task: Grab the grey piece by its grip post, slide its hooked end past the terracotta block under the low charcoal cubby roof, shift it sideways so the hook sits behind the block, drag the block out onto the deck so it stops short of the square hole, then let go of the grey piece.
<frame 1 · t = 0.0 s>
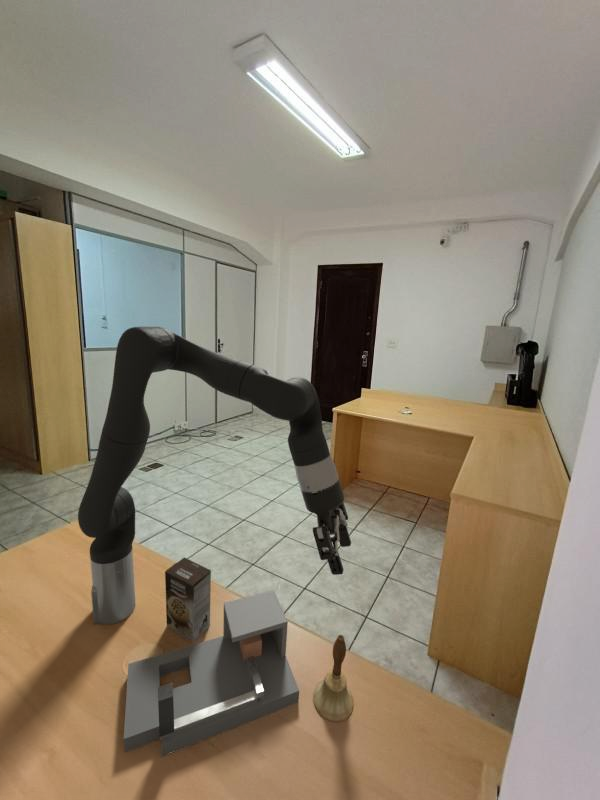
hand: (342, 558, 68), 31 cm above the table, tool tilted 20°, fingers open, 8 cm apart
grey piece: (166, 732, 62), point 3 cm above the table, touching cubby
cubby: (211, 688, 73), on the table
block: (250, 649, 79), point 3 cm above the table, touching cubby
coffee box: (188, 626, 87), on the table
hand bell: (333, 700, 72), on the table
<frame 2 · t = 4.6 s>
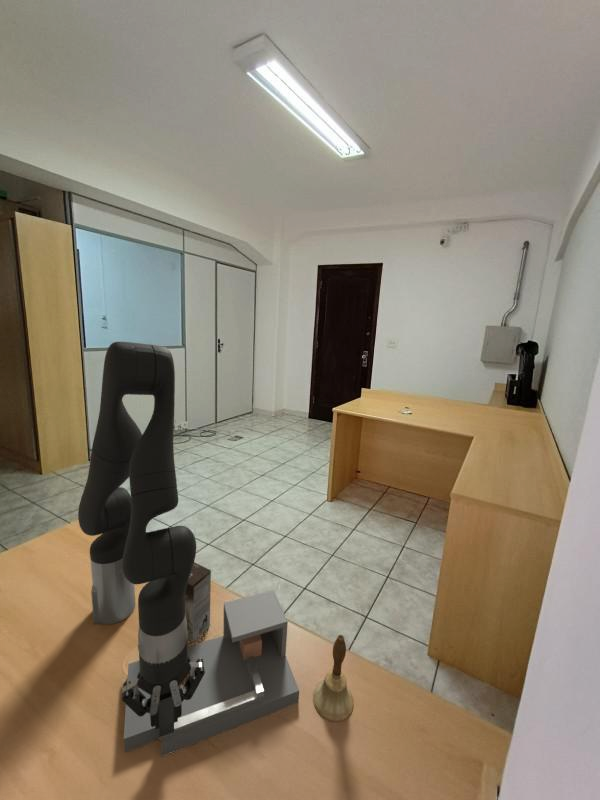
hand: (166, 720, 62), 6 cm above the table, tool pointing down, fingers closed on grey piece, 2 cm apart
grey piece: (166, 732, 62), point 3 cm above the table, touching cubby, gripper
everything else where it was.
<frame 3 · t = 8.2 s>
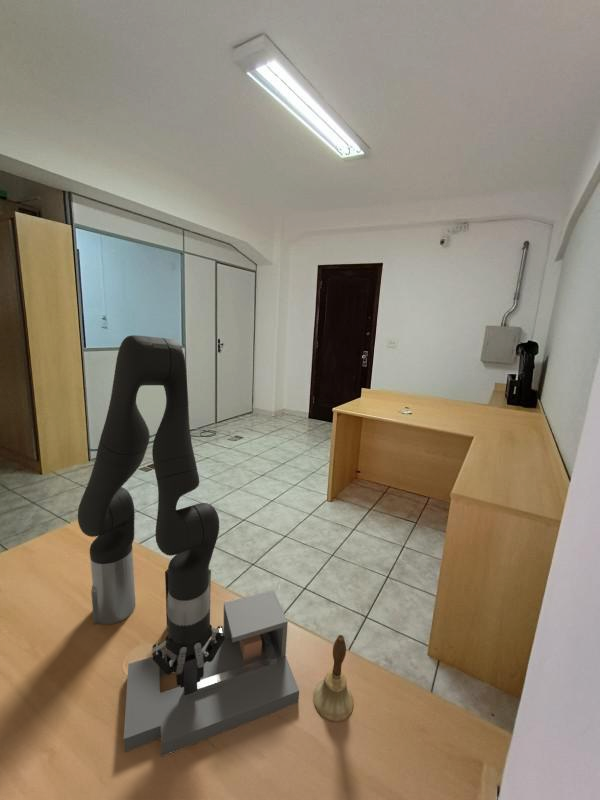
hand: (189, 680, 69), 6 cm above the table, tool pointing down, fingers closed on grey piece, 2 cm apart
grey piece: (190, 692, 69), point 3 cm above the table, touching gripper
everything else where it was.
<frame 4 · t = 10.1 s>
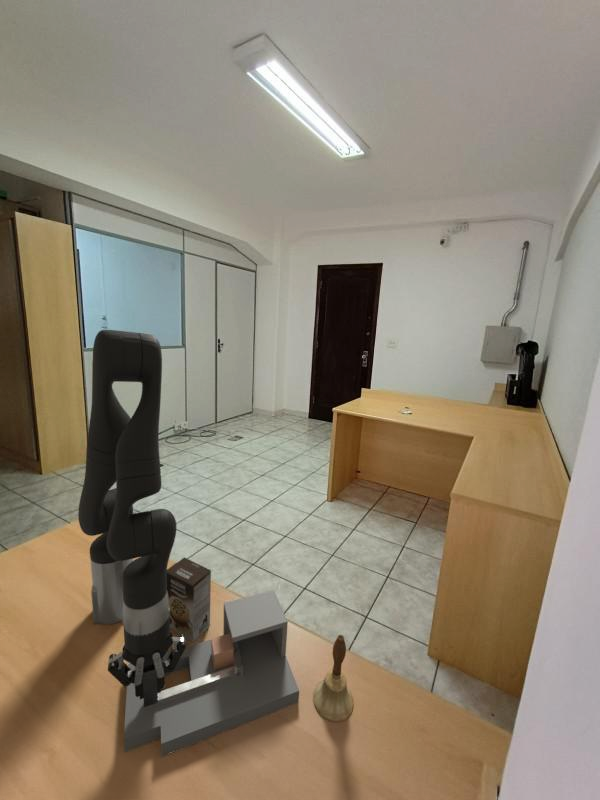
hand: (150, 691, 66), 6 cm above the table, tool pointing down, fingers closed on grey piece, 2 cm apart
grey piece: (151, 703, 67), point 3 cm above the table, touching block, gripper
block: (222, 658, 76), point 3 cm above the table, touching grey piece
everything else where it was.
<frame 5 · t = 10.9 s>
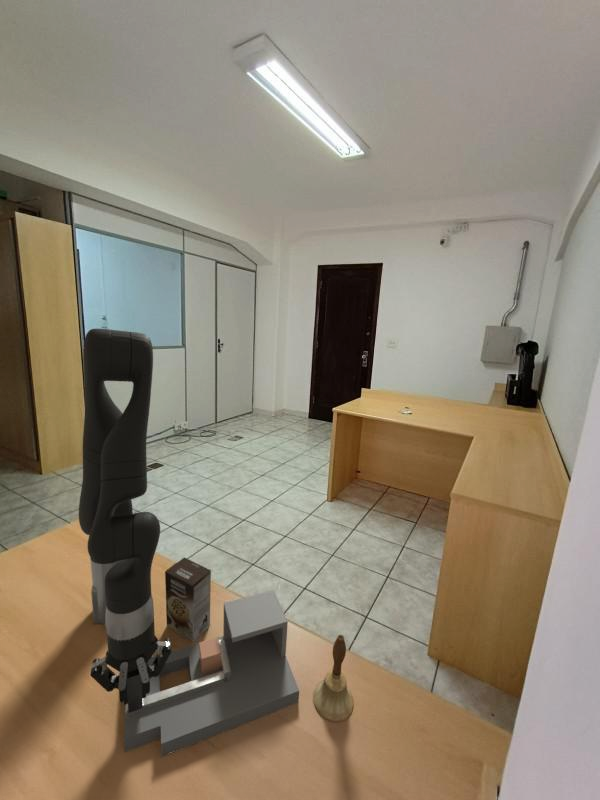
hand: (135, 696, 65), 6 cm above the table, tool pointing down, fingers closed on grey piece, 2 cm apart
grey piece: (136, 708, 66), point 3 cm above the table, touching block, gripper
block: (210, 662, 75), point 3 cm above the table, touching grey piece
everything else where it was.
when the fingers open (6 cm above the table, at t = 11.9 s): grey piece stays where it is, resting on cubby.
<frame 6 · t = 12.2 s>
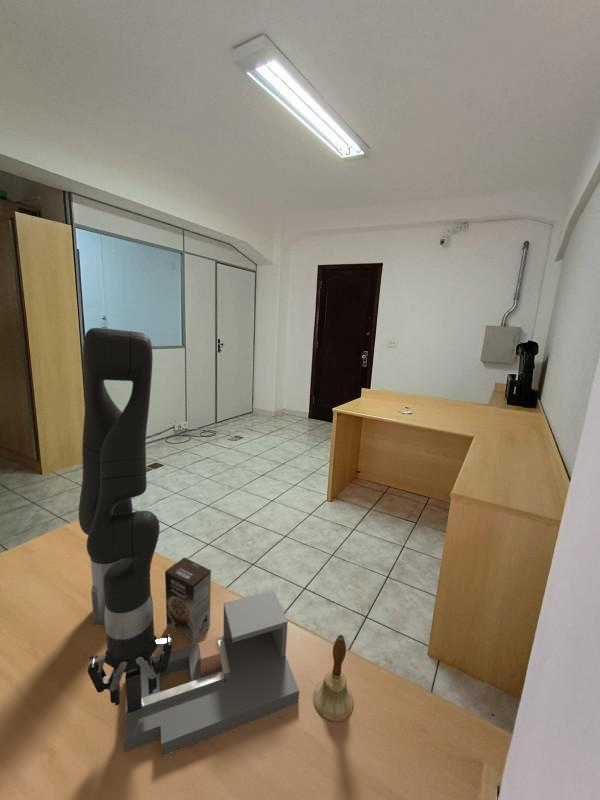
hand: (134, 694, 65), 6 cm above the table, tool pointing down, fingers open, 5 cm apart
grey piece: (135, 709, 66), point 3 cm above the table, touching cubby
block: (209, 662, 75), point 3 cm above the table, touching cubby
everything else where it was.
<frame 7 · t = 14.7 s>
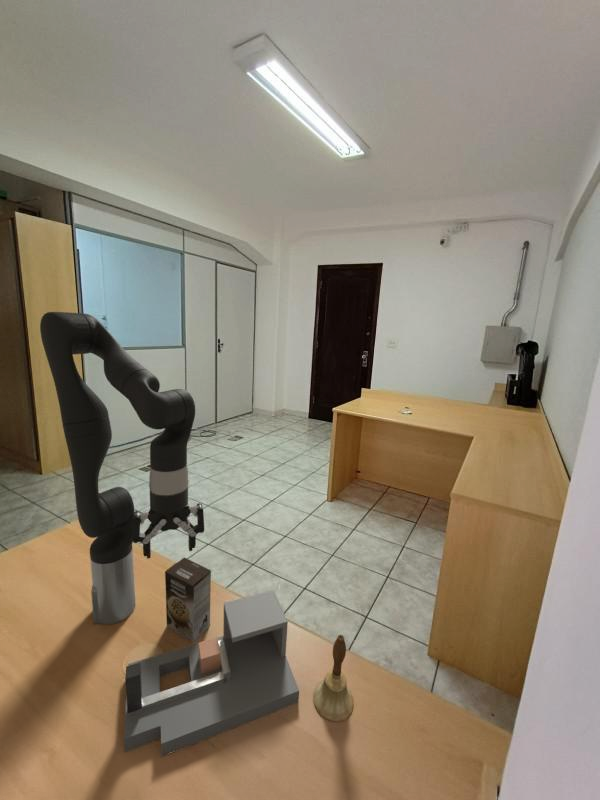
hand: (169, 552, 76), 25 cm above the table, tool pointing down, fingers open, 8 cm apart
nothing on the table moved.
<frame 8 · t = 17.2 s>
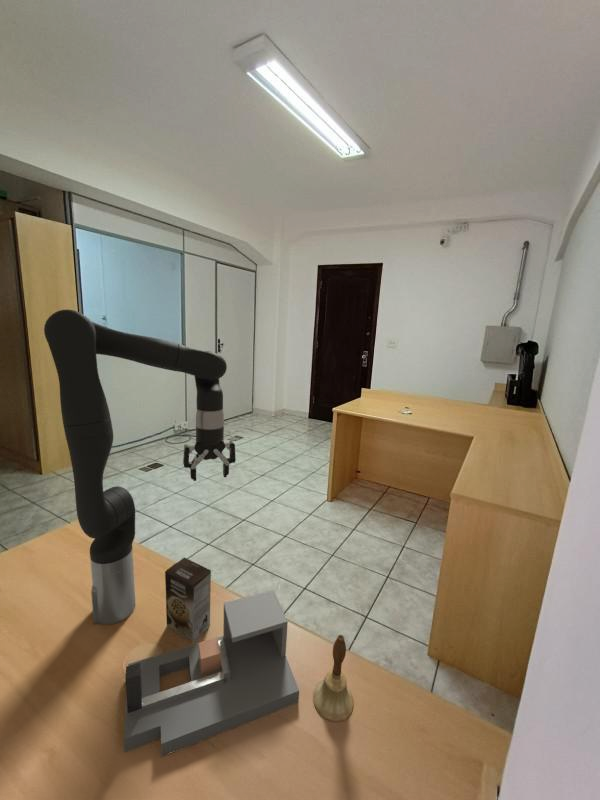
hand: (209, 478, 101), 30 cm above the table, tool pointing down, fingers open, 8 cm apart
nothing on the table moved.
at the end: block 0.0 cm from the target spot, point 3.0 cm above the table; the gripper is holding nothing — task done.
